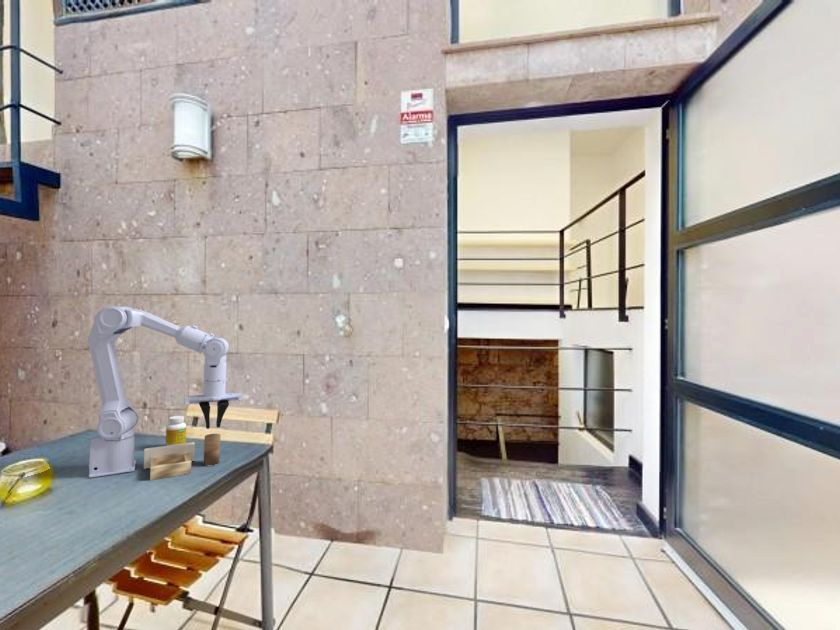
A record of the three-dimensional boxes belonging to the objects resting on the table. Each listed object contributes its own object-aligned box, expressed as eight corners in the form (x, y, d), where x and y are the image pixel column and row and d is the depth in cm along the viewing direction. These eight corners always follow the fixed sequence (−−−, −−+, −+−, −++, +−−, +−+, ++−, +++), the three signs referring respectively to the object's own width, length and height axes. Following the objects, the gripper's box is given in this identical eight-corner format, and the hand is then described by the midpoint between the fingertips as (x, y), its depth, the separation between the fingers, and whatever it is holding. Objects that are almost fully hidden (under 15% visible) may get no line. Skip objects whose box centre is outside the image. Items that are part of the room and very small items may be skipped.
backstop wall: (143, 469, 107) (144, 450, 107) (143, 466, 109) (144, 448, 109) (194, 461, 114) (194, 444, 114) (193, 459, 116) (194, 442, 116)
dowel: (204, 467, 110) (205, 438, 110) (202, 462, 114) (203, 434, 114) (220, 464, 112) (221, 436, 112) (218, 460, 116) (219, 432, 116)
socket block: (150, 480, 101) (150, 468, 101) (150, 468, 108) (150, 457, 108) (190, 473, 106) (191, 462, 106) (188, 462, 113) (188, 451, 113)
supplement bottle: (178, 451, 121) (179, 419, 121) (161, 450, 122) (162, 419, 122) (189, 445, 127) (190, 415, 127) (172, 444, 127) (173, 414, 127)
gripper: (186, 383, 106) (184, 434, 106) (244, 380, 114) (242, 427, 114) (184, 379, 111) (182, 427, 111) (240, 376, 120) (238, 421, 120)
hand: (212, 427), depth 113 cm, fingers closed
